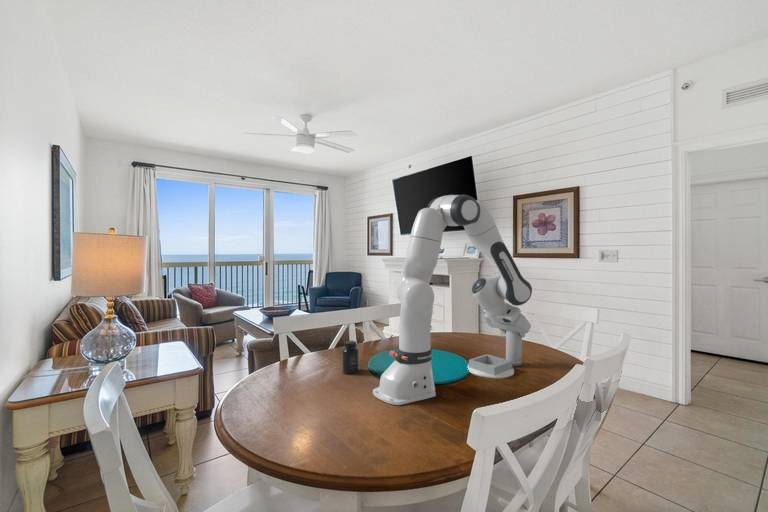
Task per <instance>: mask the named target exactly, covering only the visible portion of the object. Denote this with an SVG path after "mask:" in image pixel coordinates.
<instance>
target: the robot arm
mask: <svg viewBox="0 0 768 512" xmlns="http://www.w3.org/2000/svg"><path fill="white" fill-rule="evenodd" d="M414 219H415V220H414V222H413V225H412V228H411V232H410V235H409V241H408V245H407V250H406V255H405V258H404V263H403V266H402V269H401V273H400V277H399V280H398V284H397V288H396V297H397V298H398V300H399V301H400V310H399V311H400V312H399V323H398V348H397V350H396V351H394V350H391V351H389V356H390V357H391V358H394V361H393V362H392V363H391V364H390V365H389V366H388V368H386V370H385V371H384V372H383V373H382V374H381V375H380V379H379V386H377V387H375V388H374V389H373V390H372V395H373V396H374V397H375V398H377V399H379V400H380V401H381V402H385V403H387V404H389V405H395V406H402V405H406V404H410V403H415V402H419V401H423V400H426V399H427V400H428V399H430V398H435V397H436V396H437V393H436V386H435V382H434V375H433V368H432V359H433V351H432V347H431V325H432V318H433V310H434V303H435V293H434V289H433V287H432V286H431V284H430V283H431V279H432V276H433V274H434V271H435V269H436V266H437V264H438V261H439V256H440V250H441V246H442V241H443V234H444V231H445V229H446V227H447V226H448V227H458V226H460V227H461V226H462V227H463V228H464V231H465V233H466V235H467V237H468V240H469V241H470V243H471V245H472V246H473V247H474V248H475V250H477V251H478V252H479V253H481V254H482V255H483V256H485V257H487V258H488V259H489V260H490V261H491V262H492V263H493V264H494V265H495V266H496V268H497V272H495V273H494V274H493V275H491V276H488V277H481V278H478V279H477V280H476V281H475V282H474V283H473V284H472V286H471V287H472V288H471V292H472V295H473V297H474V299H475V301H476V302H477V304H478V305H479V307H481V308H482V309H483V310H482V311H481V314H482V315H483V319H484V320H485V322H486V324H487V325H488V326H489V327H490V328H495V329H499V331H502V333H504V335H506V330H510V331H516V332H519V336H520V337H522V339H523V338H525V337H526V334H528V333H529V331H530V330H531V327H532V326H531V325H532V324H531V323H530V322H529V320H528V319H527V317H526V316H525V315H524V314H522V313H521V312H522V311H521V309H520V308H519V307H518V306H522V305H524V304H526V303H527V302H528V301H529V300H530V299H531V297H532V294H533V287H532V285H531V284H530V282H529V281H528V280H526V279H525V278H524V277H523V276H522V274H521V272H520V270H519V268H518V266H517V264H516V262H515V260H514V258H513V257H512V256H513V255H512V254H511V253H510V251H509V249H508V247H507V246H506V244H505V242H504V240H503V238H502V235H501V233H500V231H499V229H498V227H497V224H496V222H495V220H494V218H493V216H492V214H491V212H490V210H489V209H488V208H487V206H486V205H485V203H484V202H482V201H481V200H477V199H475V198H474V197H473V196H471V195H468V194H467V195H466V194H448V195H447V194H446V195H441V196H436V197H434V198H433V199H431V201H430V202H429V203H428V204H427V206H426V207H424V208H421V209H420V210H418V212H417V215H416V217H415V218H414ZM505 300H506V301H507V302H509V303H507V302H506V301H505Z"/></svg>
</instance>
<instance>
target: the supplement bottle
mask: <svg viewBox="0 0 768 512" xmlns="http://www.w3.org/2000/svg"><path fill="white" fill-rule="evenodd" d="M359 353H360V352H359V348H357V342H356V341H355V340H346V341H343V348H342V350H341V371H342V373H343V374H346V375H354V374H355V375H356V374H358V373H359V371H360V356H359V355H360V354H359Z"/></svg>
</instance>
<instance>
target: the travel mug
mask: <svg viewBox="0 0 768 512" xmlns="http://www.w3.org/2000/svg"><path fill="white" fill-rule="evenodd" d="M522 357H523V337H520V336H519V332H516V331H510V330H506V334H505V359H506V360H510V361H512V367H520V366H522V365H523V364H522V363H523V362H522V359H523V358H522Z"/></svg>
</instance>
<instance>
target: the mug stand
mask: <svg viewBox="0 0 768 512" xmlns="http://www.w3.org/2000/svg"><path fill="white" fill-rule="evenodd" d="M467 368H468V369H467ZM467 368H466V369H467V371H468V370H469V371H468V372H469V373H471V375H474V376H477V377H481V378H486V379H494V380H496V379H499V380H500V379H507V378H510V377H513V376H514V375H515V369H514V367H513V366H512V361H510V360H506V358H501V357H498V356H494V355H491V354H489V353H488V354H487V353H486V354H483V355H480V356H476V357H474V358H471V359H468V363H467Z"/></svg>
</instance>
